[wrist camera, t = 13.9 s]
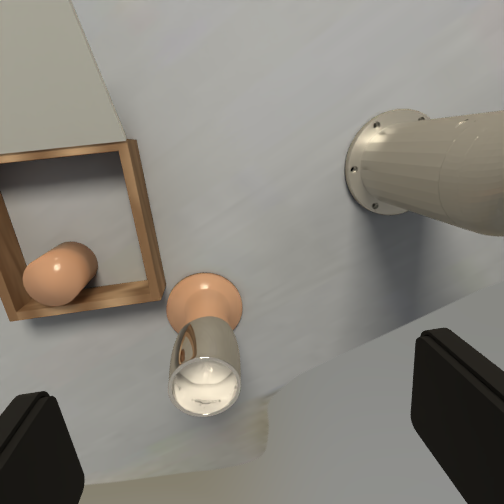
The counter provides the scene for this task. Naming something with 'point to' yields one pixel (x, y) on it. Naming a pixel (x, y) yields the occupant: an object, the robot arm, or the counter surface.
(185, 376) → the beer glass
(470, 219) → the robot arm
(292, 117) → the counter surface
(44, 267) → the peach rounded cylinder
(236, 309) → the orange dish
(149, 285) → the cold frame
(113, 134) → the propped lid
